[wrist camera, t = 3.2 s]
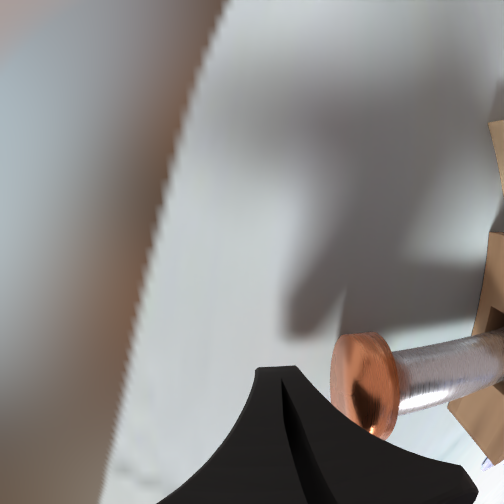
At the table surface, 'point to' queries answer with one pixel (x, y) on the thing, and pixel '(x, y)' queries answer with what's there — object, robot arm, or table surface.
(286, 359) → the table surface
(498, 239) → the block
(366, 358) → the pin
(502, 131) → the block
